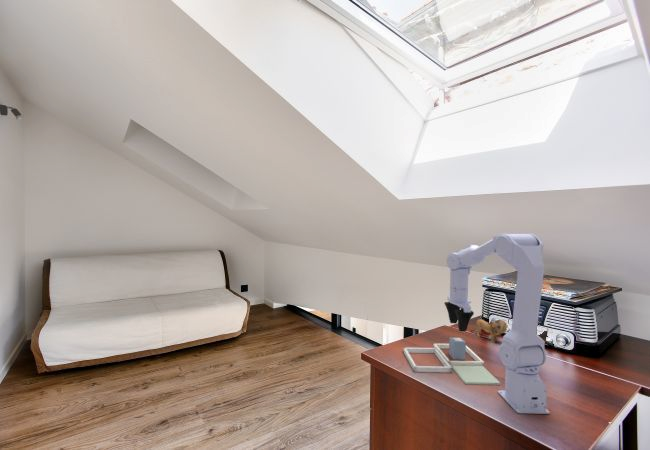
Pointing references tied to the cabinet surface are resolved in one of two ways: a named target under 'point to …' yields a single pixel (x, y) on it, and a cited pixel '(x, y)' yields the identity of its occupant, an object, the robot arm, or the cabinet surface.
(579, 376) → the cabinet surface
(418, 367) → the grey rectangular frame
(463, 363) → the cream rectangular frame
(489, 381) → the green mat
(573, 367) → the cabinet surface
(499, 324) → the lion figurine
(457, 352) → the slate block
